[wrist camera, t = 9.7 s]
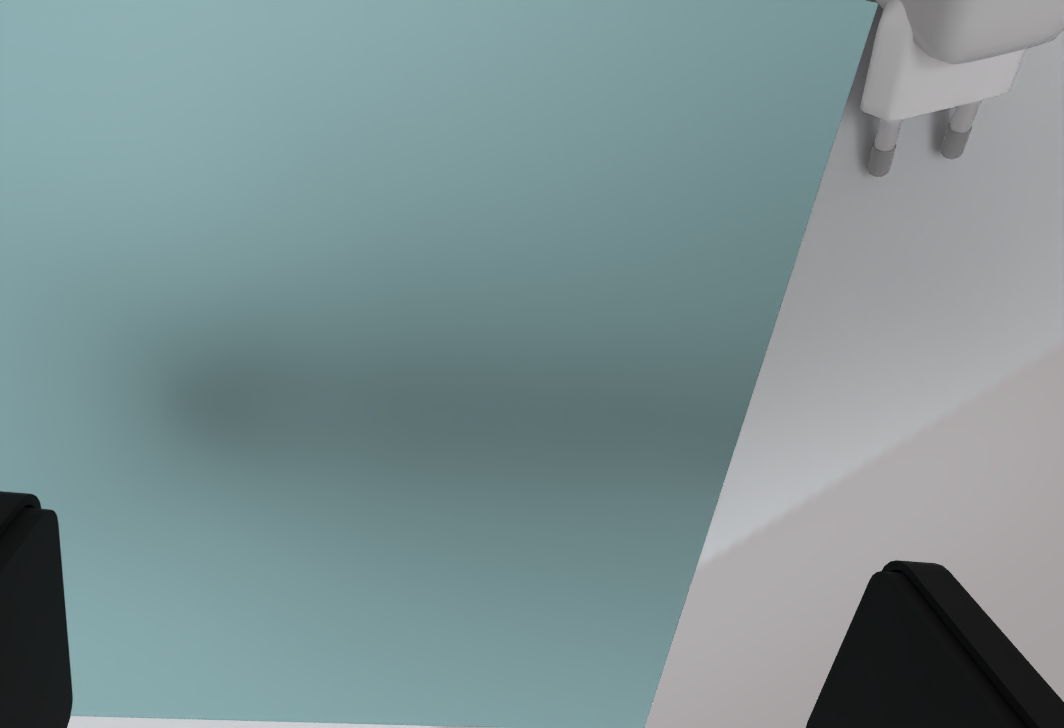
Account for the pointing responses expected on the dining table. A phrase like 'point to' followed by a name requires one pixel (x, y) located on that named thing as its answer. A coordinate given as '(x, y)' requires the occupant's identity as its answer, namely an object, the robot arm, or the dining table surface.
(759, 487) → the dining table surface
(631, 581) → the flap
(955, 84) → the power adapter
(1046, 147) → the dining table surface
